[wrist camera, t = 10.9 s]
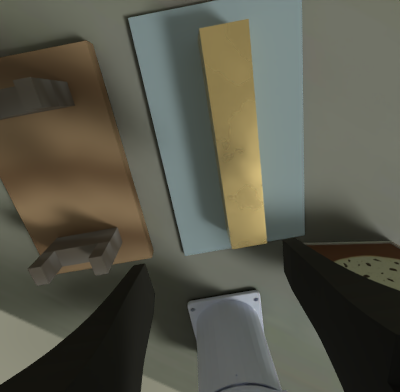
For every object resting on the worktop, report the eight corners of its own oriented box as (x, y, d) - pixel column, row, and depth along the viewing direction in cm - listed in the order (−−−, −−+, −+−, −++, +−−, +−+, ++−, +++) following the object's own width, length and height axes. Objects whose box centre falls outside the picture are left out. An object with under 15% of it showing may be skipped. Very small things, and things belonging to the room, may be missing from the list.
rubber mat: (302, 233, 24) (304, 235, 24) (184, 253, 25) (184, 255, 24) (299, -14, 17) (301, -17, 16) (129, 19, 17) (128, 17, 17)
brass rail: (257, 226, 23) (267, 243, 20) (226, 231, 23) (231, 249, 21) (239, 31, 17) (248, 18, 14) (197, 39, 17) (199, 28, 15)
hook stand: (153, 250, 24) (144, 290, 19) (56, 267, 24) (21, 311, 19) (92, 44, 17) (53, 21, 12) (-41, 70, 18) (-133, 58, 13)
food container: (280, 290, 27) (328, 391, 18) (287, 243, 25) (347, 330, 15) (387, 287, 27) (489, 383, 18) (404, 240, 25) (531, 323, 16)
